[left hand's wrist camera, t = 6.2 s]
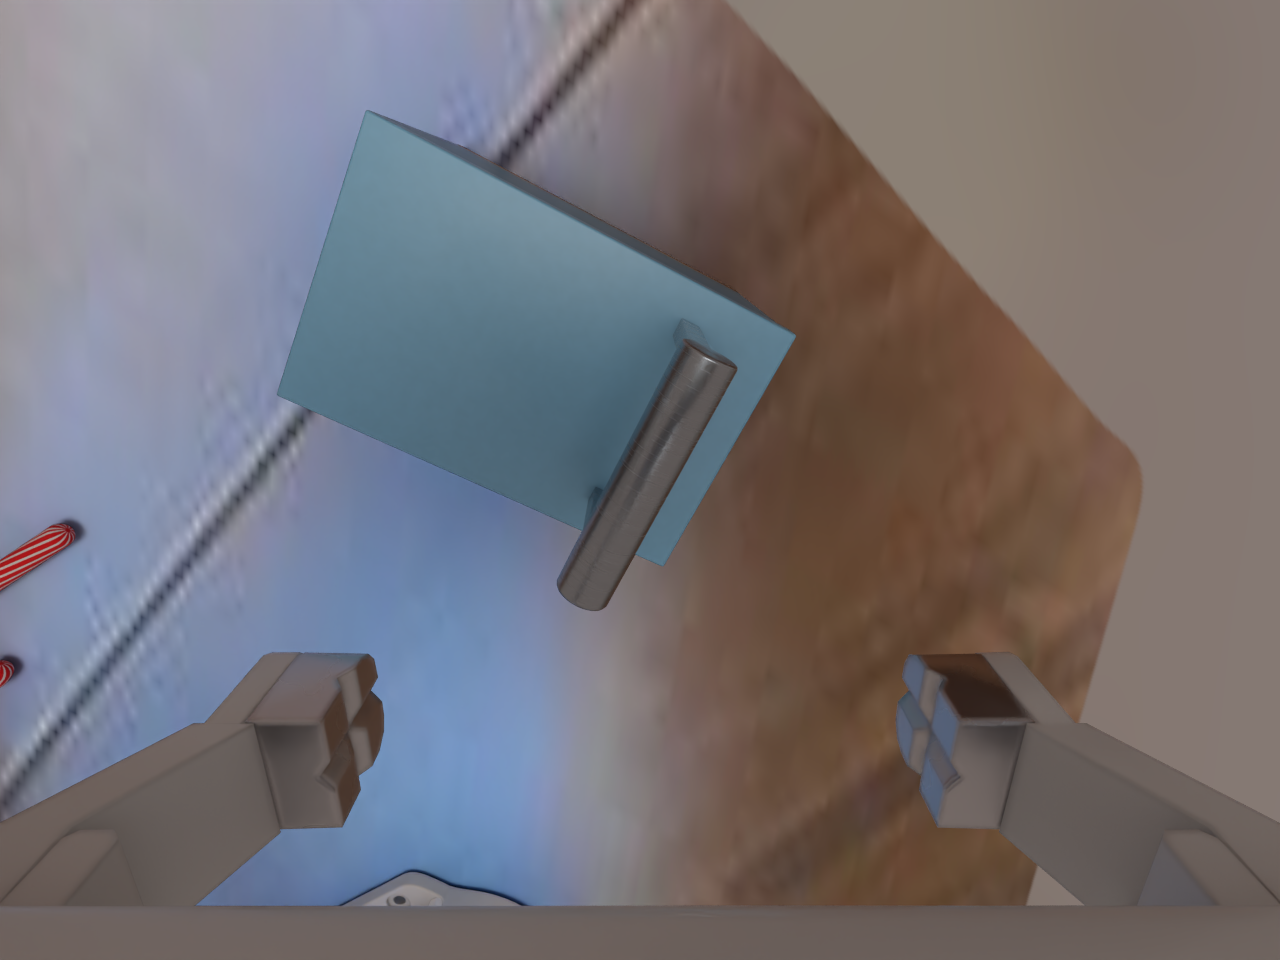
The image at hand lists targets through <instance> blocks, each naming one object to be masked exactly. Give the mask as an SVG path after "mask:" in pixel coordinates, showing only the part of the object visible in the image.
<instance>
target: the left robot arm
mask: <svg viewBox="0 0 1280 960" xmlns="http://www.w3.org/2000/svg"><path fill="white" fill-rule="evenodd" d="M377 678H378V675H377V671H376V666H375V661H374V659H373V658H372V657H371V656H370V655H369V654H352V653H306V652H305V653H300V652H272V653H269V654H266V655H263V657H262V658H261V659H260V660H259V661H258V662H257V663H256V664H255V666H254V667H253V668H252V669H251V670H250V671H249V672H248V674H247V675H246V676H245V677H244V678H243V679H242V681H241V682H240V683H239V684H238V685H237V686H236V687H235V689H234V690H233V691H232V692H231V693H230V694H229V695H228V697H227V698H226V699H225V700H224V701H223V702H222V704H221V705H220V706H219V707H218V708H217V709H216V710H215V712H214V713H213V714H212V715H211V716H210V717H209V718H208V720H207V721H206V722H205V723H193V724H191V725H189V726H187V727H185V728H184V729H182V730H180V731H178V732H176V733H174V734H172V735H170V736H168V737H166V738H164V739H162V740H160V741H158V742H156V743H154V744H152V745H151V746H149V747H147V748H145V749H143V750H141V751H139V752H137V753H135V754H133V755H131V756H129V757H127V758H125V759H123V760H121V761H119V762H117V763H116V764H114V765H112V766H110V767H108V768H106V769H104V770H102V771H100V772H98V773H96V774H94V775H92V776H90V777H88V778H86V779H84V780H82V781H81V782H79V783H77V784H75V785H73V786H71V787H69V788H67V789H65V790H63V791H61V792H59V793H57V794H55V795H53V796H51V797H49V798H47V799H46V800H44V801H42V802H40V803H38V804H36V805H34V806H32V807H30V808H28V809H26V810H24V811H22V812H20V813H18V814H16V815H14V816H12V817H11V818H9V819H7V820H5V821H3V822H1V823H0V960H1280V823H1279V822H1277V821H1275V820H1273V819H1271V818H1269V817H1267V816H1265V815H1263V814H1261V813H1259V812H1257V811H1255V810H1253V809H1252V808H1250V807H1248V806H1246V805H1244V804H1242V803H1240V802H1238V801H1236V800H1234V799H1232V798H1230V797H1228V796H1226V795H1224V794H1222V793H1220V792H1218V791H1217V790H1215V789H1213V788H1211V787H1209V786H1207V785H1205V784H1203V783H1201V782H1199V781H1197V780H1195V779H1193V778H1191V777H1189V776H1188V775H1186V774H1184V773H1182V772H1180V771H1178V770H1176V769H1174V768H1172V767H1170V766H1168V765H1166V764H1164V763H1162V762H1160V761H1158V760H1156V759H1155V758H1153V757H1151V756H1149V755H1147V754H1145V753H1143V752H1141V751H1139V750H1137V749H1135V748H1133V747H1131V746H1129V745H1127V744H1125V743H1124V742H1122V741H1120V740H1118V739H1116V738H1114V737H1112V736H1110V735H1108V734H1106V733H1104V732H1102V731H1100V730H1098V729H1096V728H1094V727H1092V726H1091V725H1089V724H1086V723H1075V722H1074V721H1073V720H1072V718H1071V717H1070V716H1069V715H1068V714H1067V713H1066V712H1065V710H1064V709H1063V708H1062V707H1061V706H1060V705H1059V704H1058V702H1057V701H1056V700H1055V699H1054V698H1053V697H1052V695H1051V694H1050V693H1049V692H1048V691H1047V690H1046V689H1045V687H1044V686H1043V685H1042V684H1041V683H1040V682H1039V681H1038V679H1037V678H1036V677H1035V676H1034V675H1033V674H1032V673H1031V671H1030V670H1029V669H1028V668H1027V667H1026V666H1025V664H1024V663H1023V662H1022V661H1021V660H1020V659H1019V658H1018V656H1016V655H1014V654H1012V653H1010V652H991V653H975V654H920V655H909V656H908V658H907V660H906V662H905V664H904V670H903V675H902V678H903V680H904V682H905V683H906V685H907V687H908V689H909V691H908V692H907V693H906V694H905V695H904V696H903V697H902V698H901V699H900V700H899V701H898V706H897V714H896V729H897V739H898V743H899V746H900V750H901V753H902V755H903V757H904V759H905V761H906V764H907V766H909V767H910V768H911V769H913V770H914V771H915V772H917V773H918V774H920V775H921V782H920V788H919V790H920V792H921V794H922V796H923V798H924V800H925V802H926V804H927V806H928V808H929V810H930V812H931V814H932V816H933V818H934V820H935V822H936V825H937V827H943V828H978V829H1000V831H999V832H1000V833H1001V834H1002V835H1003V836H1004V837H1006V838H1007V839H1008V840H1009V841H1010V842H1011V843H1013V844H1014V845H1015V846H1016V847H1017V848H1018V849H1020V850H1021V851H1022V852H1023V853H1024V854H1025V855H1027V856H1028V857H1029V858H1030V859H1031V860H1032V861H1034V862H1035V863H1036V864H1037V865H1038V866H1039V867H1041V868H1042V869H1043V870H1044V871H1045V872H1047V873H1048V874H1049V875H1050V876H1051V877H1052V878H1054V879H1055V880H1056V881H1057V882H1058V883H1059V884H1061V885H1062V886H1063V887H1064V888H1065V889H1066V890H1068V891H1069V892H1070V893H1071V894H1072V895H1073V896H1075V897H1076V898H1077V899H1078V900H1079V901H1080V902H1082V903H1083V904H1084V905H1085V906H521V905H519V904H517V903H515V902H513V901H511V900H508V899H506V898H503V897H500V896H497V895H494V894H490V893H486V892H481V891H474V890H468V889H461V888H456V887H453V886H449V885H447V884H445V883H443V882H441V881H439V880H437V879H435V878H432V877H430V876H428V875H425V874H422V873H417V872H408V873H405V874H403V875H401V876H399V877H397V878H395V879H393V880H391V881H389V882H387V883H385V884H383V885H381V886H379V887H377V888H375V889H373V890H372V891H370V892H368V893H366V894H364V895H362V896H360V897H358V898H356V899H354V900H352V901H350V902H348V903H346V904H344V905H343V906H195V905H196V904H197V903H199V902H200V901H201V900H202V899H203V898H204V897H206V896H207V895H208V894H209V893H210V892H212V891H213V890H214V889H215V888H216V887H217V886H219V885H220V884H221V883H222V882H223V881H224V880H226V879H227V878H228V877H229V876H230V875H231V874H233V873H234V872H235V871H236V870H237V869H238V868H240V867H241V866H242V865H243V864H244V863H245V862H247V861H248V860H249V859H250V858H251V857H252V856H254V855H255V854H256V853H257V852H258V851H260V850H261V849H262V848H263V847H264V846H265V845H267V844H268V843H269V842H270V841H271V840H272V839H274V838H275V837H276V836H277V835H278V834H279V833H280V832H281V831H280V829H301V828H335V827H343V825H344V823H345V821H346V819H347V817H348V815H349V813H350V811H351V809H352V806H353V804H354V802H355V800H356V798H357V796H358V794H359V792H360V790H361V788H360V782H359V775H360V774H362V773H363V772H365V771H366V770H367V769H369V768H370V767H371V766H373V764H374V761H375V759H376V757H377V755H378V753H379V751H380V746H381V741H382V737H383V732H384V712H383V705H382V701H381V700H380V699H379V698H378V697H377V696H376V695H375V694H374V693H373V692H372V691H371V689H372V687H373V685H374V683H375V682H376V680H377Z"/></svg>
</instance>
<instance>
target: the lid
mask: <svg viewBox="0 0 1280 960" xmlns="http://www.w3.org/2000/svg"><path fill="white" fill-rule="evenodd" d="M795 338H796V335H795V334H794V333H793V332H791V331H790V330H789V329H787V328H785V327H783V326H781V325H779V324H777V323H776V322H774V321H772V320H770V319H768V318H766V317H764V316H762V315H760V314H758V313H757V312H755V311H753V310H751V309H749V308H747V307H745V306H743V305H741V304H739V303H738V302H736V301H734V300H732V299H730V298H728V297H726V296H724V295H722V294H720V293H719V292H717V291H715V290H713V289H711V288H709V287H707V286H705V285H703V284H701V283H700V282H698V281H696V280H694V279H692V278H690V277H688V276H686V275H684V274H682V273H681V272H679V271H677V270H675V269H673V268H671V267H669V266H667V265H665V264H663V263H661V262H660V261H658V260H656V259H654V258H652V257H650V256H648V255H646V254H644V253H642V252H641V251H639V250H637V249H635V248H633V247H631V246H629V245H627V244H625V243H623V242H622V241H620V240H618V239H616V238H614V237H612V236H610V235H608V234H606V233H604V232H603V231H601V230H599V229H597V228H595V227H593V226H591V225H589V224H587V223H585V222H584V221H582V220H580V219H578V218H576V217H574V216H572V215H570V214H568V213H566V212H565V211H563V210H561V209H559V208H557V207H555V206H553V205H551V204H549V203H547V202H546V201H544V200H542V199H540V198H538V197H536V196H534V195H532V194H530V193H528V192H526V191H525V190H523V189H521V188H519V187H517V186H515V185H513V184H511V183H509V182H507V181H506V180H504V179H502V178H500V177H498V176H496V175H494V174H492V173H490V172H488V171H487V170H485V169H483V168H481V167H479V166H477V165H475V164H473V163H471V162H469V161H468V160H466V159H464V158H462V157H460V156H458V155H456V154H454V153H452V152H450V151H449V150H447V149H445V148H443V147H441V146H439V145H437V144H435V143H433V142H431V141H430V140H428V139H426V138H424V137H422V136H420V135H418V134H416V133H414V132H412V131H410V130H409V129H407V128H405V127H403V126H401V125H399V124H397V123H395V122H393V121H391V120H390V119H388V118H386V117H384V116H382V115H380V114H377V113H374V112H372V111H369V110H367V111H366V112H365V115H364V118H363V121H362V125H361V128H360V131H359V134H358V137H357V141H356V144H355V147H354V150H353V153H352V156H351V160H350V163H349V166H348V169H347V172H346V176H345V179H344V182H343V185H342V188H341V192H340V195H339V198H338V201H337V204H336V207H335V211H334V214H333V217H332V220H331V223H330V227H329V230H328V233H327V236H326V239H325V243H324V246H323V249H322V252H321V255H320V258H319V262H318V265H317V268H316V271H315V274H314V278H313V281H312V284H311V287H310V290H309V294H308V297H307V300H306V303H305V306H304V309H303V313H302V316H301V319H300V322H299V325H298V329H297V332H296V335H295V338H294V341H293V345H292V348H291V351H290V354H289V357H288V360H287V364H286V367H285V370H284V373H283V376H282V380H281V383H280V386H279V389H278V392H277V395H278V396H280V397H282V398H284V399H287V400H289V401H291V402H293V403H296V404H298V405H300V406H302V407H305V408H307V409H309V410H311V411H314V412H316V413H318V414H320V415H323V416H325V417H327V418H329V419H332V420H334V421H336V422H338V423H341V424H343V425H345V426H347V427H350V428H352V429H354V430H356V431H359V432H361V433H363V434H365V435H368V436H370V437H372V438H374V439H377V440H379V441H381V442H383V443H386V444H388V445H390V446H392V447H395V448H397V449H399V450H401V451H404V452H406V453H408V454H410V455H413V456H415V457H417V458H419V459H422V460H424V461H426V462H428V463H431V464H433V465H435V466H437V467H440V468H442V469H444V470H446V471H449V472H451V473H453V474H455V475H458V476H460V477H462V478H464V479H467V480H469V481H471V482H473V483H476V484H478V485H480V486H482V487H485V488H487V489H489V490H491V491H494V492H496V493H498V494H500V495H503V496H505V497H507V498H509V499H512V500H514V501H516V502H518V503H521V504H523V505H525V506H527V507H530V508H532V509H534V510H536V511H539V512H541V513H543V514H545V515H548V516H550V517H552V518H554V519H557V520H559V521H561V522H563V523H566V524H568V525H570V526H572V527H575V528H577V529H579V530H581V531H582V532H581V534H580V536H579V538H578V540H577V542H576V544H575V546H574V548H573V550H572V552H571V554H570V556H569V558H568V559H567V561H566V563H565V565H564V567H563V569H562V571H561V573H560V575H559V577H558V579H557V588H558V590H559V592H560V593H561V595H562V596H563V597H564V598H565V599H567V600H568V601H569V602H570V603H572V604H574V605H576V606H578V607H580V608H582V609H585V610H590V611H599V610H602V609H603V608H605V607H606V606H607V604H608V603H609V601H610V599H611V597H612V595H613V594H614V592H615V590H616V588H617V586H618V585H619V583H620V581H621V579H622V577H623V576H624V574H625V572H626V570H627V568H628V567H629V565H630V563H631V561H632V559H633V558H634V556H635V555H638V556H640V557H642V558H644V559H647V560H649V561H651V562H653V563H656V564H658V565H660V566H664V565H665V563H666V561H667V560H668V558H669V556H670V554H671V553H672V551H673V549H674V547H675V546H676V544H677V542H678V541H679V539H680V537H681V535H682V534H683V532H684V530H685V528H686V527H687V525H688V523H689V521H690V520H691V518H692V516H693V515H694V513H695V511H696V509H697V508H698V506H699V504H700V502H701V501H702V499H703V497H704V495H705V494H706V492H707V490H708V489H709V487H710V485H711V483H712V482H713V480H714V478H715V476H716V475H717V473H718V471H719V469H720V468H721V466H722V464H723V463H724V461H725V459H726V457H727V456H728V454H729V452H730V450H731V449H732V447H733V445H734V443H735V442H736V440H737V438H738V437H739V435H740V433H741V431H742V430H743V428H744V426H745V424H746V423H747V421H748V419H749V417H750V416H751V414H752V412H753V411H754V409H755V407H756V405H757V404H758V402H759V400H760V398H761V397H762V395H763V393H764V391H765V390H766V388H767V386H768V385H769V383H770V381H771V379H772V378H773V376H774V374H775V372H776V371H777V369H778V367H779V365H780V364H781V362H782V360H783V359H784V357H785V355H786V353H787V352H788V350H789V348H790V346H791V345H792V343H793V341H794V339H795Z"/></svg>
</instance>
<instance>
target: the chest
mask: <svg viewBox="0 0 1280 960" xmlns="http://www.w3.org/2000/svg"><path fill="white" fill-rule="evenodd" d="M384 117H385V116H384ZM386 118H387V117H386ZM388 119H390V118H388ZM390 120H391V121H393V122H395V123H397V124H399V125H401V126H403V127H405V128H407V129H409V130H410V131H412V132H414V133H416V134H418V135H420V136H422V137H424V138H426V139H428V140H430V141H431V142H433V143H435V144H437V145H439V146H441V147H443V148H445V149H447V150H449V151H450V152H452V153H454V154H456V155H458V156H460V157H462V158H464V159H466V160H468V161H469V162H471V163H473V164H475V165H477V166H479V167H481V168H483V169H485V170H487V171H488V172H490V173H492V174H494V175H496V176H498V177H500V178H502V179H504V180H506V181H507V182H509V183H511V184H513V185H515V186H517V187H519V188H521V189H523V190H525V191H526V192H528V193H530V194H532V195H534V196H536V197H538V198H540V199H542V200H544V201H546V202H547V203H549V204H551V205H553V206H555V207H557V208H559V209H561V210H563V211H565V212H566V213H568V214H570V215H572V216H574V217H576V218H578V219H580V220H582V221H584V222H585V223H587V224H589V225H591V226H593V227H595V228H597V229H599V230H601V231H603V232H604V233H606V234H608V235H610V236H612V237H614V238H616V239H618V240H620V241H622V242H623V243H625V244H627V245H629V246H631V247H633V248H635V249H637V250H639V251H641V252H642V253H644V254H646V255H648V256H650V257H652V258H654V259H656V260H658V261H660V262H661V263H663V264H665V265H667V266H669V267H671V268H673V269H675V270H677V271H679V272H681V273H682V274H684V275H686V276H688V277H690V278H692V279H694V280H696V281H698V282H700V283H701V284H703V285H705V286H707V287H709V288H711V289H713V290H715V291H717V292H719V293H720V294H722V295H724V296H726V297H728V298H730V299H732V300H734V301H736V302H738V303H739V304H741V305H743V306H745V307H747V308H749V309H751V310H753V311H755V312H757V313H758V314H760V315H762V316H764V317H766V318H768V319H770V320H772V319H771V318H769V317H768V316H767V315H765V314H764V313H763V312H762V311H760V310H759V309H758V308H757V307H755V306H754V305H753V304H751V303H750V302H749V301H748V300H746V299H745V298H744V297H742V296H741V295H740V294H739V293H738V292H737V291H735V290H733V289H731V288H729V287H728V286H726V285H724V284H722V283H720V282H718V281H716V280H714V279H712V278H711V277H709V276H707V275H705V274H703V273H701V272H699V271H697V270H695V269H694V268H692V267H690V266H688V265H686V264H684V263H682V262H680V261H678V260H677V259H675V258H673V257H671V256H669V255H667V254H665V253H663V252H661V251H660V250H658V249H656V248H654V247H652V246H650V245H648V244H646V243H644V242H642V241H641V240H639V239H637V238H635V237H633V236H631V235H629V234H627V233H625V232H624V231H622V230H620V229H618V228H616V227H614V226H612V225H610V224H608V223H607V222H605V221H603V220H601V219H599V218H597V217H595V216H593V215H591V214H590V213H588V212H586V211H584V210H582V209H580V208H578V207H576V206H574V205H573V204H571V203H569V202H567V201H565V200H563V199H561V198H559V197H557V196H556V195H554V194H552V193H550V192H548V191H546V190H544V189H542V188H540V187H538V186H537V185H535V184H533V183H531V182H529V181H527V180H525V179H523V178H521V177H520V176H518V175H516V174H514V173H512V172H510V171H508V170H506V169H504V168H503V167H501V166H499V165H497V164H495V163H493V162H491V161H489V160H487V159H486V158H484V157H482V156H480V155H478V154H476V153H474V152H472V151H470V150H469V149H467V148H465V147H463V146H460V145H457V144H454V143H452V142H449V141H446V140H444V139H441V138H439V137H436V136H434V135H431V134H428V133H426V132H423V131H421V130H418V129H416V128H413V127H411V126H408V125H405V124H403V123H400V122H398V121H395V120H393V119H390ZM772 321H773V320H772Z"/></svg>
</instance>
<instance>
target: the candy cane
mask: <svg viewBox="0 0 1280 960" xmlns="http://www.w3.org/2000/svg"><path fill="white" fill-rule="evenodd" d="M74 539H75V532H74V530H73V528H72V527H70V526H68V525H66V524H55V525H52V526H50V527H48V528H47V529H46V530H44V531H43V532H41V533H40V534H38V535H37V536H35V537H34V538H32V539H31V540H29V541H28V542H26V543H25V544H23V545H22V546H20V547H19V548H17V549H16V550H14V551H13V552H11V553H10V554H8V555H7V556H6V557H4V558H3V559H1V560H0V591H1V590H2V589H4V588H5V587H7V586H8V585H10V584H11V583H13V582H14V581H16V580H17V579H19V578H20V577H22V576H23V575H25V574H26V573H28V572H29V571H31V570H32V569H34V568H35V567H37V566H38V565H40V564H41V563H43V562H44V561H46V560H47V559H49V558H51V557H52V556H53V555H55V554H56V553H58V552H60V551H61V550H62V549H64V548H65V547H67V546H68V545H70V544H71V543H72V542H73V541H74ZM13 673H14V666H13V664H12V663H10V662H8V661H4V660H1V661H0V687H2V686H3V685H4V684H5V683H6V682H7V681H8V680H9V679H10V678H11V676H12V675H13Z"/></svg>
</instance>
